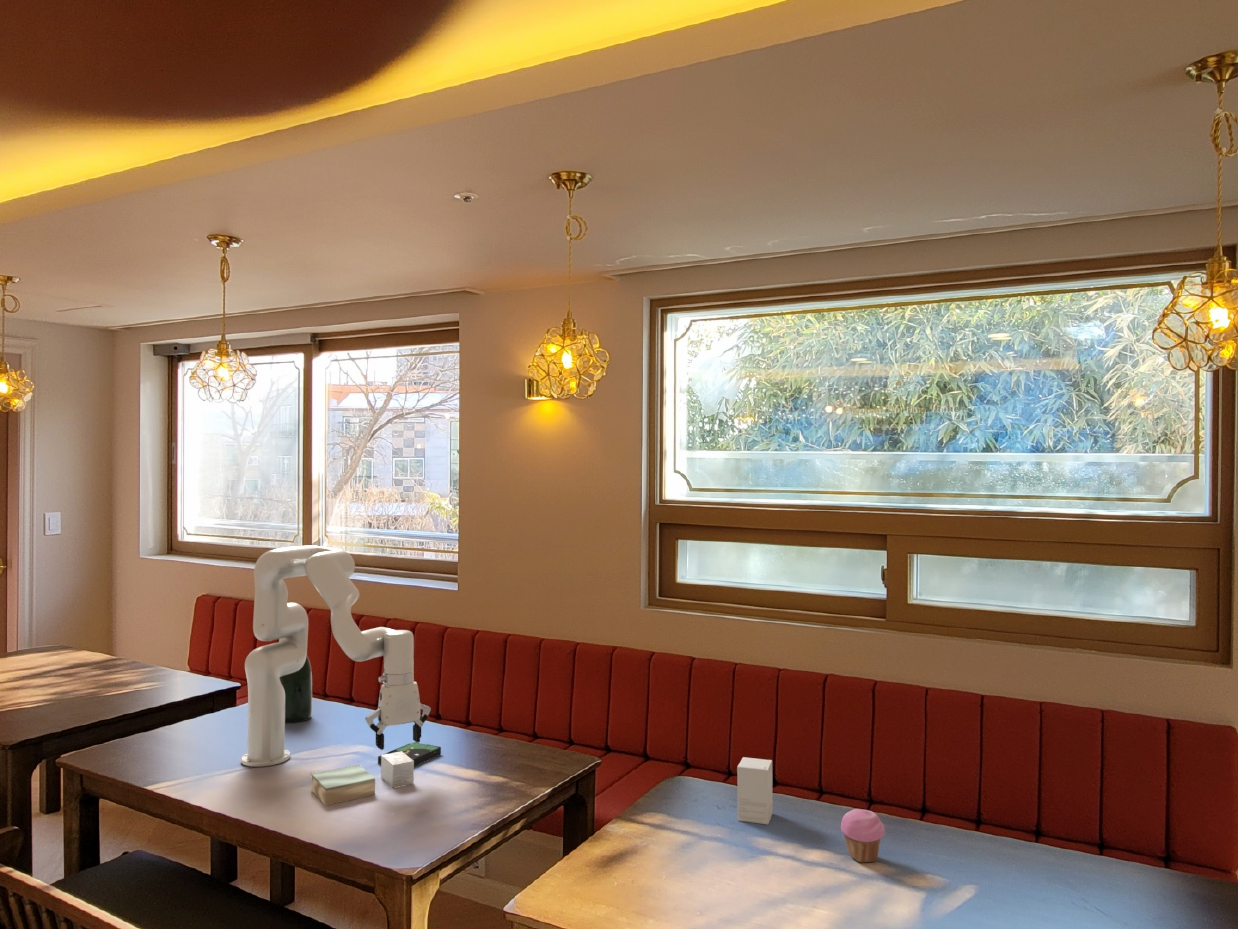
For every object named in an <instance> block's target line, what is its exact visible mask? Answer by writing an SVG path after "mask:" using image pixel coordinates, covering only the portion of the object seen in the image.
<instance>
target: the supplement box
mask: <svg viewBox="0 0 1238 929" xmlns="http://www.w3.org/2000/svg"><path fill="white" fill-rule="evenodd" d="M736 766H737V768H736V772H737V821H739V822H748V823H754V824H755V823H756V824H762V825H769V824H770V821H771V818H772V816H773V809H774V808H773V806H774V805H773V760H772V759H763V758H755V757H754V758H753V757H747V756H746V757H745V756H743V757H742V758H741V760H740V762H739V763H738V765H736Z"/></svg>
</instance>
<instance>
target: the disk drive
mask: <svg viewBox="0 0 1238 929" xmlns="http://www.w3.org/2000/svg"><path fill="white" fill-rule="evenodd" d="M401 751H402V752H403V753H404V754H406V755H407V756H408V757H409V758H411V759H412V760H413V761H414V767H416V766H419V765H420V763H421V764H423V763H425V762H424V761H426V762H427V760H428V761H430V760H432V759H434V757H435V758H437V757H439V756H441V755H442V747H441V746H438V745H433V744H432V745H431V744H429V743H428V744H425V743H420V742H418V743H417V742H416V741H414V742H411V743H407V744H405V745H402V746H400V747H398V748H396V749H393V750H390V751H387V752H386V753H383V754H380V755H378V756H377V765H379V764H380V766H381V755H385V754H390V753H395V752H401ZM440 754H441V755H440ZM438 755H439V756H438ZM436 756H437V757H436ZM422 762H423V763H422Z"/></svg>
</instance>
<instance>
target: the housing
mask: <svg viewBox="0 0 1238 929" xmlns="http://www.w3.org/2000/svg"><path fill="white" fill-rule="evenodd" d="M384 754H385V753H384ZM380 755H381V765H380V779H382V780H383V781H384V782H385V783H386V782H387V783H388V784H389V785H388V784H387V783H386V784H387V785H388V786H389V787H391V788H392V789H396V788H395V787H397V788H399V787H398V786H401V787H403V786H402V785H406V786H410V784H411V785H414V780H415V779H414V778H415V777H414V776H415V775H414V773H415V772H414V771H415V766H414V761H413V760H412V759H411V758H409V757H408V756H407V755H406V754H404V753H403V752H402V751H401V752H395V753H390V754H385V755H383V754H380Z"/></svg>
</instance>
